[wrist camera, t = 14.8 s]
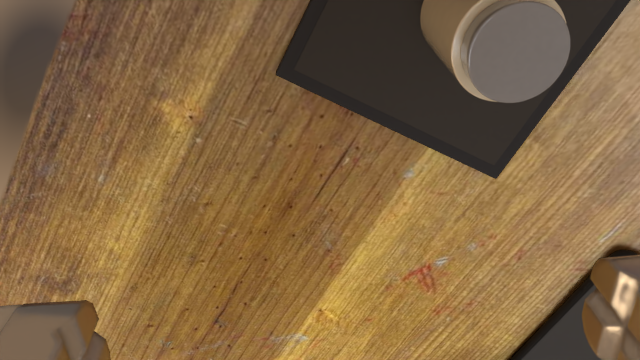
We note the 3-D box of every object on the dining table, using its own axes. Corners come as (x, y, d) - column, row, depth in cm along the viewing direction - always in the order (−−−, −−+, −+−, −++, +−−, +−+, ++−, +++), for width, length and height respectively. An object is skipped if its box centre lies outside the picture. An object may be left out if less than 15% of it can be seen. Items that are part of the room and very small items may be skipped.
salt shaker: (402, 34, 30) (434, 81, 23) (453, -55, 28) (506, -33, 21) (477, 74, 32) (529, 130, 25) (532, -8, 30) (606, 27, 22)
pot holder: (275, 72, 32) (275, 75, 31) (418, -225, 25) (421, -227, 25) (493, 175, 36) (496, 180, 35) (666, -58, 29) (674, -56, 29)
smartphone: (496, 380, 44) (623, 249, 38) (493, 371, 45) (616, 242, 39) (566, 404, 46) (698, 284, 40) (561, 395, 47) (690, 276, 41)
